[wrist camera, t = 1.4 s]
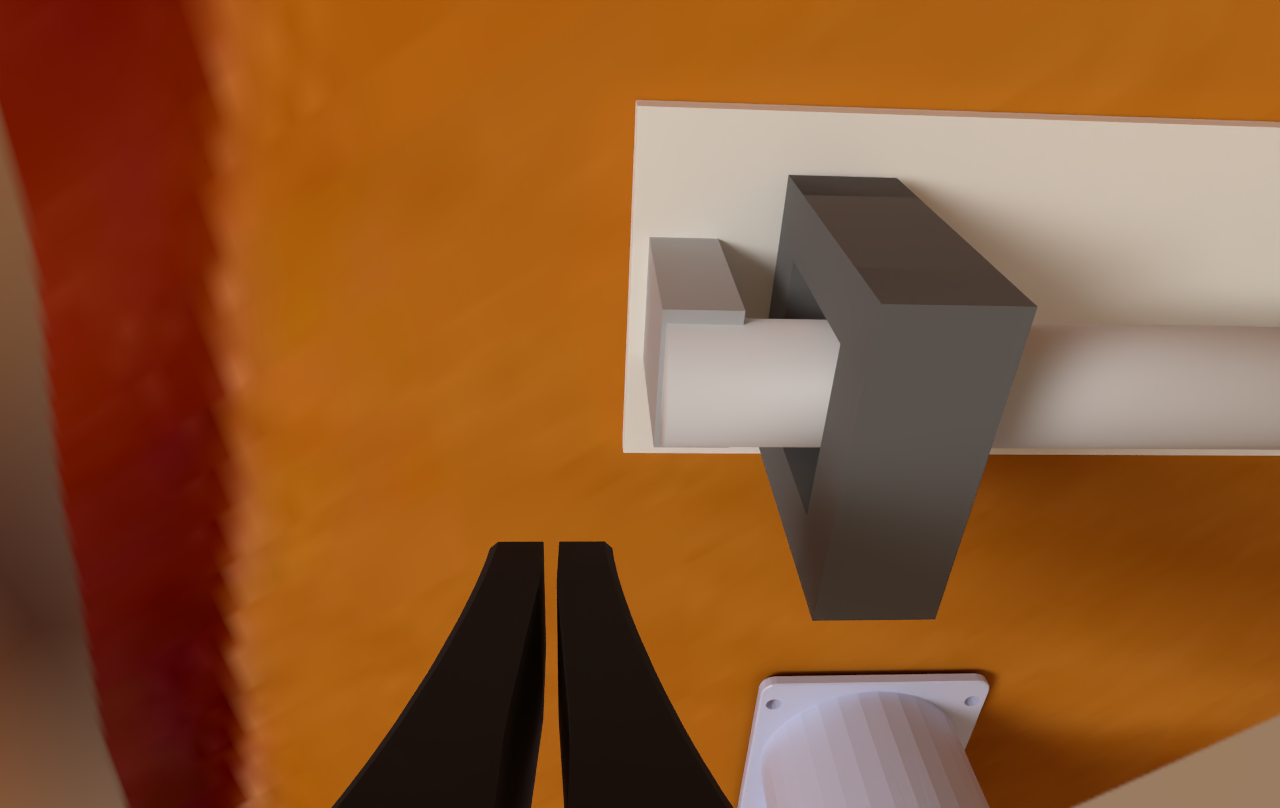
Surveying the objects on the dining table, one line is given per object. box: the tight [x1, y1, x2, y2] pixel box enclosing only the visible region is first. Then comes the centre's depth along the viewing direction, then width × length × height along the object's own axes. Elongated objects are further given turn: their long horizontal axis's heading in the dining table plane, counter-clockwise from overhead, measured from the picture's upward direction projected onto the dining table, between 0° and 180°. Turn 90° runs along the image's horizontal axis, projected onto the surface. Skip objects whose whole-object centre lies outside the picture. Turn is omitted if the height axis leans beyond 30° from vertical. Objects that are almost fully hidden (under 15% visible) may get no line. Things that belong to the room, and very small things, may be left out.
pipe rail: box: [623, 100, 1280, 456], centre depth 18 cm, size 22×9×6 cm, turn 87°
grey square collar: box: [759, 175, 1038, 621], centre depth 17 cm, size 2×7×7 cm, turn 177°
